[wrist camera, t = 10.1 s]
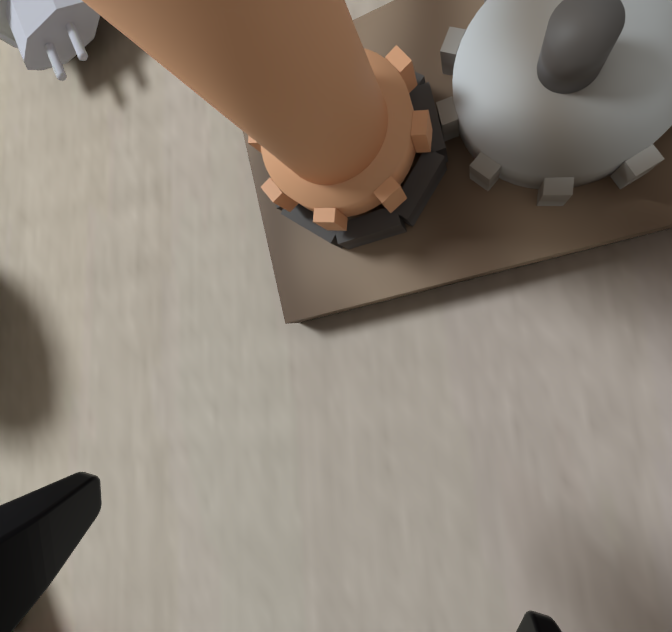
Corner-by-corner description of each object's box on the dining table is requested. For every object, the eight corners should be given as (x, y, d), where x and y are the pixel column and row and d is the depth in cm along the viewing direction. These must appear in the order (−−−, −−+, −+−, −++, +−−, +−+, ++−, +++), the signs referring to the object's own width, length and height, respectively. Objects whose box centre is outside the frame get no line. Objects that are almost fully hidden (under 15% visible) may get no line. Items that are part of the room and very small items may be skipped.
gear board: (655, -95, 16) (736, -274, 11) (746, 208, 15) (878, 159, 10) (247, 95, 21) (182, 31, 16) (298, 322, 20) (245, 326, 16)
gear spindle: (471, 160, 16) (468, -340, 4) (348, 271, 18) (68, 168, 5) (367, 53, 18) (119, -571, 5) (261, 165, 19) (-121, -109, 7)
